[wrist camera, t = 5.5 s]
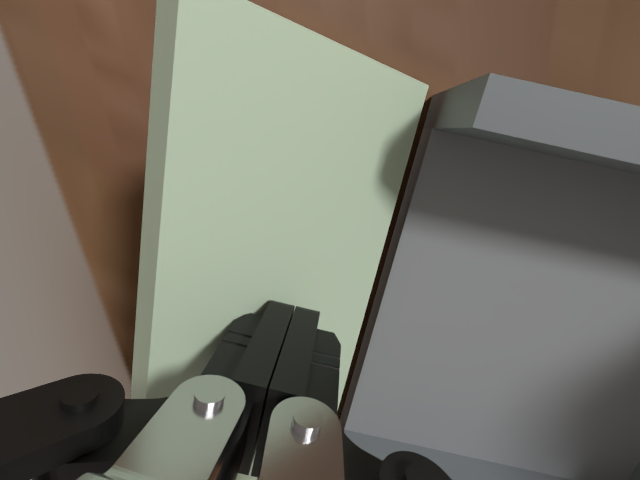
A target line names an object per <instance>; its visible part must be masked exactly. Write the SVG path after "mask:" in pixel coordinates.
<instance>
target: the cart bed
mask: <svg viewBox="0 0 640 480" xmlns="http://www.w3.org/2000/svg"><path fill="white" fill-rule="evenodd" d="M340 423H341V428H342V430H343V431H344V433H345V434H346V436H347V437H348V438H349V439H350V440H351V441H352V442H353V443H354V444H356V445H357V446H358V447H359V448H361V449H363V450H364V451H366V452H368V453H370V454H371V455H373V456H375V457H377V458H379V459H380V460H382V461H383V460H384V459H385V458H386V457H387V456H388V455H389V454H391V453H393V452H396V451H410V452H415V453H417V454H420V455H422V456H425V457H427V458H428V459H430V460H431V461H433V462H434V463H436V464H437V465H438V466H439V467H440V468H441V469H442V470H443V471H444V472H445V473H446V474H447V475H448V476H449V477H450V478H451V479H452V480H640V106H636V105H631V104H627V103H622V102H618V101H613V100H609V99H604V98H600V97H596V96H591V95H587V94H582V93H578V92H573V91H569V90H564V89H560V88H555V87H551V86H546V85H542V84H538V83H533V82H529V81H524V80H520V79H515V78H511V77H506V76H502V75H497V74H493V73H489V74H486V75H484V76H481V77H478V78H476V79H473V80H471V81H468V82H466V83H463V84H461V85H458V86H456V87H453V88H451V89H448V90H445V91H443V92H440V93H438V94H435V95H433V96H432V99H431V102H430V106H429V109H428V113H427V116H426V120H425V123H424V127H423V130H422V134H421V137H420V141H419V144H418V148H417V151H416V155H415V158H414V162H413V165H412V169H411V172H410V176H409V179H408V183H407V186H406V190H405V193H404V197H403V200H402V204H401V207H400V211H399V214H398V218H397V221H396V225H395V228H394V232H393V235H392V239H391V242H390V246H389V249H388V253H387V256H386V260H385V263H384V267H383V270H382V274H381V277H380V281H379V284H378V288H377V291H376V295H375V298H374V302H373V305H372V309H371V312H370V316H369V319H368V323H367V326H366V330H365V333H364V337H363V340H362V344H361V347H360V351H359V355H358V358H357V362H356V365H355V369H354V372H353V376H352V379H351V383H350V386H349V390H348V393H347V397H346V400H345V404H344V407H343V411H342V414H341V418H340Z"/></svg>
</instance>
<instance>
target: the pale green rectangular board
mask: <svg viewBox="0 0 640 480" xmlns="http://www.w3.org/2000/svg"><path fill="white" fill-rule="evenodd" d="M428 87H429V85H427V84H424V83H422V82H420V81H418V80H416V79H414V78H412V77H409V76H407V75H405V74H403V73H401V72H399V71H397V70H395V69H392V68H390V67H388V66H386V65H384V64H382V63H380V62H378V61H375V60H373V59H371V58H369V57H367V56H365V55H363V54H360V53H358V52H356V51H354V50H352V49H350V48H348V47H346V46H343V45H341V44H339V43H337V42H335V41H333V40H331V39H328V38H326V37H324V36H322V35H320V34H318V33H316V32H314V31H311V30H309V29H307V28H305V27H303V26H301V25H299V24H296V23H294V22H292V21H290V20H288V19H286V18H284V17H282V16H279V15H277V14H275V13H273V12H271V11H269V10H267V9H265V8H262V7H260V6H258V5H256V4H254V3H252V2H250V1H247V0H157V6H156V21H155V36H154V51H153V66H152V81H151V96H150V111H149V126H148V141H147V156H146V171H145V186H144V201H143V216H142V231H141V247H140V262H139V277H138V292H137V307H136V322H135V337H134V352H133V367H132V382H131V397H130V399H155V398H164V397H169V396H170V395H171V394H172V393H173V392H174V390H175V389H176V388H177V387H178V386H179V385H180V384H182V383H183V382H185V381H186V380H188V379H191V378H193V377H197V376H200V375H201V373H202V372H203V370H204V368H205V367H206V365H207V364H208V362H209V361H210V359H211V357H212V356H213V354H214V353H215V351H216V349H217V348H218V346H219V345H220V343H221V342H222V340H223V338H224V337H225V335H226V334H227V333H228V330H229V329H230V327H231V326H232V324H233V322H234V321H235V320H236V319H237V318H239V317H241V316H242V315H244V314H249V313H253V314H258V315H262V316H263V314H264V312H265V310H266V308H267V306H268V304H269V302H270V300H273V301H277V302H281V303H286V304H290V305H294V306H295V308H296V306H299V307H303V308H307V309H311V310H315V311H319V312H320V316H319V321H318V327H317V329H320V330H325V331H329V332H333V333H335V335H336V337H337V339H338V340H339V342H340V344H341V355H340V369H339V371H340V373H339V391H338V408H339V404H340V401H341V397H342V393H343V390H344V386H345V383H346V379H347V376H348V372H349V368H350V365H351V361H352V358H353V354H354V351H355V347H356V343H357V340H358V336H359V333H360V329H361V326H362V322H363V319H364V315H365V311H366V308H367V304H368V301H369V297H370V294H371V290H372V286H373V283H374V279H375V276H376V272H377V269H378V265H379V261H380V258H381V254H382V251H383V247H384V244H385V240H386V236H387V233H388V229H389V226H390V222H391V219H392V215H393V212H394V208H395V204H396V201H397V197H398V194H399V190H400V187H401V183H402V179H403V176H404V172H405V169H406V165H407V162H408V158H409V154H410V151H411V147H412V144H413V140H414V137H415V133H416V130H417V126H418V122H419V119H420V115H421V112H422V108H423V105H424V101H425V97H426V94H427V90H428ZM294 311H295V309H294ZM337 411H338V409H337ZM255 453H256V452H255ZM254 457H255V456H254ZM253 462H254V459H253ZM253 462H252V465H251V469H250V472H249V475H244V474H240V473H238V474H237V477H236V480H257V477H253V476H251V472H252V467H253Z"/></svg>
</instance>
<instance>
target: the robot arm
mask: <svg viewBox="0 0 640 480" xmlns="http://www.w3.org/2000/svg"><path fill="white" fill-rule="evenodd" d="M294 309H295V311H294ZM319 316H320V312H319V311H315V310H311V309H307V308H303V307H299V306H296V308H295V306H294V305H290V304H286V303H281V302H277V301H273V300H270V302H269V304H268V306H267V308H266V310H265V312H264V314H263V316H262V315H258V314H253V313H249V314H244V315H242V316H241V317H239V318H237V319H236V320H235V321H234V322H233V324H232V326H231V327H230V329H229V330H228V333H227V334H226V335H225V337H224V338H223V340H222V342H221V343H220V345H219V346H218V348H217V349H216V351H215V353H214V354H213V356H212V357H211V359H210V361H209V362H208V364H207V365H206V367H205V368H204V370H203V372H202V373H201V375H200V376H197V377H193V378H191V379H188V380H186V381H185V382H183V383H182V384H180V385H179V386H178V387H177V388H176V389H175V390H174V392H173V393H172V394H171V395H170V396H169V397H164V398H155V399H125V392H124V388H123V386H122V385H121V383H120V382H119V381H117V380H116V379H114V378H112V377H110V376H106V375H102V374H81V375H75V376H72V377H68V378H65V379H61V380H58V381H55V382H52V383H48V384H45V385H42V386H39V387H35V388H32V389H29V390H25V391H22V392H19V393H16V394H13V395H9V396H6V397H3V398H0V480H30V479H32V480H236V477H237V474H238V473H240V474H244V475H249V472H250V469H251V465H252V462H253V459H254V462H253V467H252V472H251V476H253V477H257V480H452V479H451V478H450V477H449V476H448V475H447V474H446V473H445V472H444V471H443V470H442V469H441V468H440V467H439V466H438V465H437V464H436V463H434V462H433V461H431V460H430V459H428V458H427V457H425V456H422V455H420V454H417V453H415V452H410V451H396V452H393V453H391V454H389V455H388V456H387V457H386V458H385V459H384V460H383V461H382V460H380V459H379V458H377V457H375V456H373V455H371V454H370V453H368V452H366V451H364V450H363V449H361V448H359V447H358V446H357V445H356V444H354V443H353V442H352V441H351V440H350V439H349V438H348V437H347V436H346V434H345V433H344V431H343V430H342V428H341V423H340V421H339V419H338V415H337V409H338V391H339V373H340V371H339V369H340V355H341V344H340V342H339V340H338V339H337V337H336V335H335V333H333V332H329V331H325V330H320V329H317V327H318V321H319ZM255 452H256V453H255ZM254 456H255V457H254Z"/></svg>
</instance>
